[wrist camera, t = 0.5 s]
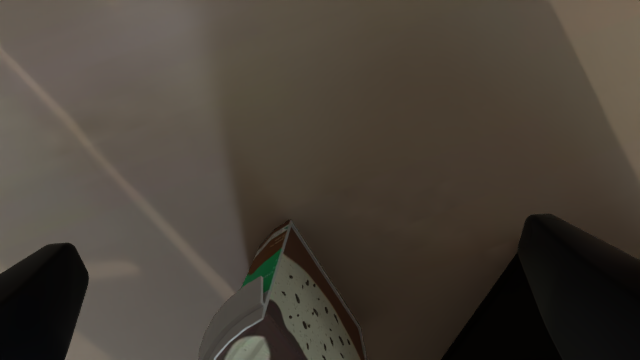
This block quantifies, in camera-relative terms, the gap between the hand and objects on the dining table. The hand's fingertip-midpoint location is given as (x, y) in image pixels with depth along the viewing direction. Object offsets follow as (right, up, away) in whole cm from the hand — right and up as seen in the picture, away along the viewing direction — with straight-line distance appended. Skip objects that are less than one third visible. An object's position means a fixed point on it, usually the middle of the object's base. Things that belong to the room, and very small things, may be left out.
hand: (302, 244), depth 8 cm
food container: (-2, -6, +19) cm, 20 cm away
